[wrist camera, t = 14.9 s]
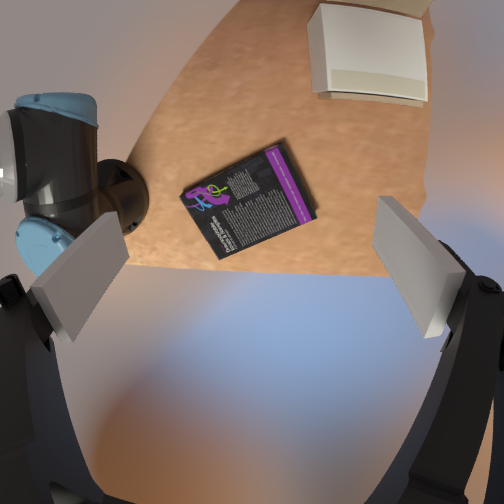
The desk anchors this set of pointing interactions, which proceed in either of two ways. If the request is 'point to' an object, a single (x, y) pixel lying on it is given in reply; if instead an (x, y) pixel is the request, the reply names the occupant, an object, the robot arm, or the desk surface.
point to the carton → (367, 56)
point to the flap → (396, 5)
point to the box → (249, 202)
